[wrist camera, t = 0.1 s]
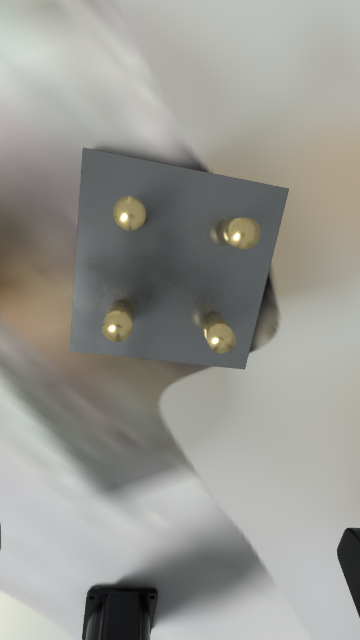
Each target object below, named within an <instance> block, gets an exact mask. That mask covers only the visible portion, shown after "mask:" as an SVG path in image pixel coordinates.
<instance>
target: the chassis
mask: <svg viewBox="0 0 360 640" xmlns="http://www.w3.org/2000/svg"><path fill="white" fill-rule="evenodd" d="M288 190H289V189H288V188H283V187H278V186H272V185H267V184H262V183H258V182H252V181H248V180H243V179H237V178H232V177H228V176H222V175H218V174H213V173H208V172H203V171H198V170H193V169H188V168H183V167H178V166H173V165H168V164H163V163H158V162H153V161H148V160H142V159H137V158H132V157H127V156H122V155H117V154H112V153H107V152H102V151H97V150H92V149H87V148H83V154H82V170H81V185H80V200H79V215H78V230H77V246H76V261H75V276H74V291H73V306H72V322H71V337H70V351H74V352H84V353H93V354H103V355H112V356H122V357H132V358H141V359H151V360H160V361H170V362H179V363H189V364H198V365H208V366H217V367H227V368H237V369H245V367H246V363H247V358H248V354H249V350H250V346H251V342H252V338H253V334H254V330H255V326H256V322H257V318H258V313H259V309H260V305H261V301H262V297H263V293H264V289H265V285H266V281H267V277H268V273H269V268H270V264H271V260H272V256H273V252H274V248H275V244H276V240H277V236H278V232H279V227H280V223H281V219H282V215H283V211H284V207H285V203H286V199H287V195H288Z"/></svg>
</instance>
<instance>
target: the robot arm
mask: <svg viewBox="0 0 360 640" xmlns="http://www.w3.org/2000/svg"><path fill="white" fill-rule="evenodd" d="M0 549H1V525H0ZM337 556H338V559H339V562H340V565H341V568H342V571H343V573H344V576H345V579H346V582H347V584H348V587H349V590H350V593H351V595H352V598H353V601H354V603H355V606H356V609H357V611H358V614H359V617H360V528H347V529H346V530H345V531H344V533H343V536H342V538H341V541H340V543H339V545H338V548H337ZM157 599H158V591H157V590H156V589H91V590H89V591H88V592H87V597H86V606H85V615H84V624H83V634H82V639H83V640H150V633H151V628H152V623H153V618H154V613H155V608H156V604H157Z"/></svg>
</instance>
